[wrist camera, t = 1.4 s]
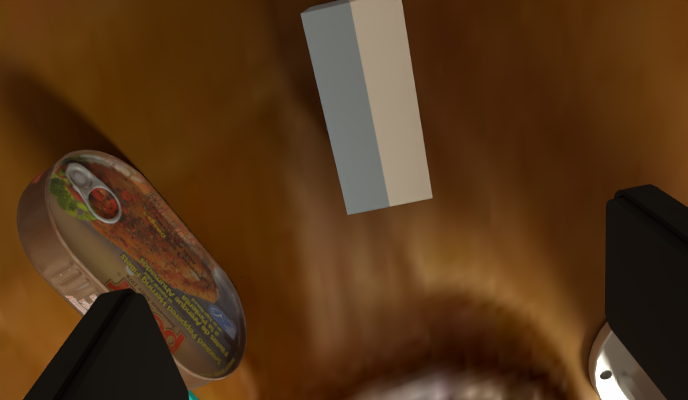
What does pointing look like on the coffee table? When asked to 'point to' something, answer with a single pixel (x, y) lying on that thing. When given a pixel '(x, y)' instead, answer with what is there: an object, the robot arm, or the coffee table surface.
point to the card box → (369, 101)
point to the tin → (132, 258)
